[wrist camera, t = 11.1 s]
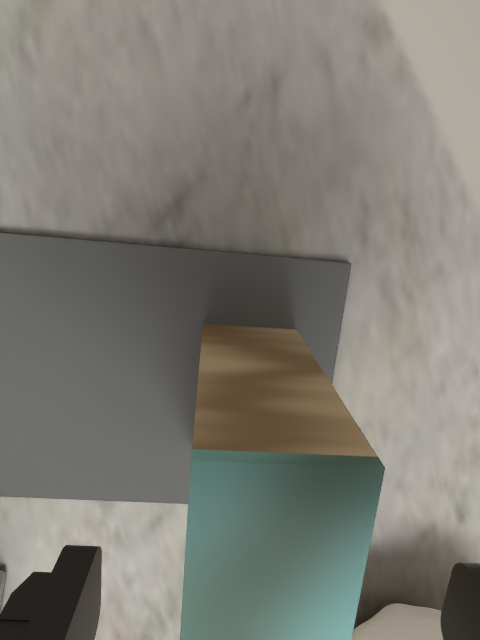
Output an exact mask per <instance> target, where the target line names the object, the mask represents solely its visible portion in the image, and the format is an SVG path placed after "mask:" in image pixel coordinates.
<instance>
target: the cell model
mask: <svg viewBox="0 0 480 640" xmlns="http://www.w3.org/2000/svg"><path fill="white" fill-rule="evenodd" d="M441 612H442V611H440V610H437V609H433V608H428V607H419V606H412V605H407V604H400V603H394V604H389V605H387V606H385V607H384V608H383V609H381V610H380V611H379V612H378V613H377V614H376V615H375V616H373V617H372V618H371V619H369V620H367V621H366V622H364V623H362V624H361V625H359V626H358V627H356V628H355V629H354V630H353V634H352V639H351V640H443V636H442V631H441V622H440V619H441Z"/></svg>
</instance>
